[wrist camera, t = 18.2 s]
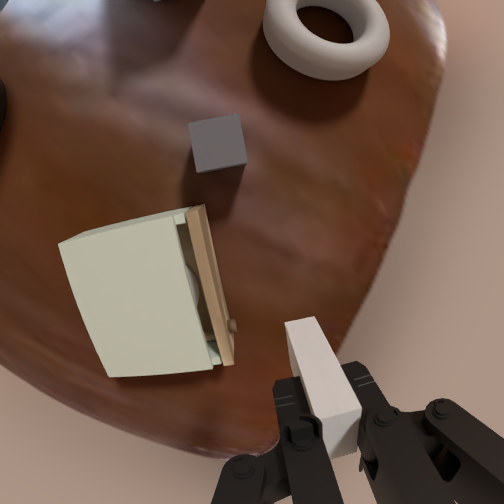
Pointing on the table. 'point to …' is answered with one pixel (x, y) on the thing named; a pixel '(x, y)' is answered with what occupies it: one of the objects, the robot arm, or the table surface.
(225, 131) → the block
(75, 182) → the table surface
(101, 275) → the drawer cabinet
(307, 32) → the donut shape
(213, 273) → the wooden drawer
